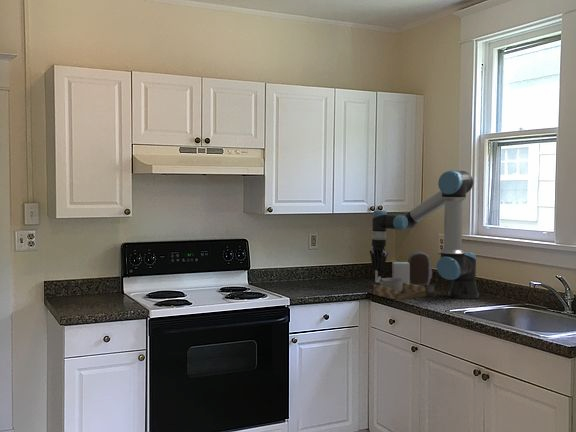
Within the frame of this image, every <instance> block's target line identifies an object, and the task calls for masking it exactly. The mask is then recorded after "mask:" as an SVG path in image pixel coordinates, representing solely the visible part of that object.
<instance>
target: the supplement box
mask: <svg viewBox="0 0 576 432" xmlns="http://www.w3.org/2000/svg"><path fill="white" fill-rule="evenodd" d="M391 262H392V264H391V268H392V269H391V271H392V273H391V276H392V277H391V278H401V279H403V283H408V284H410V264H409V263H408V261H391Z"/></svg>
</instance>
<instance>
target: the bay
mask: <svg viewBox="0 0 576 432" xmlns="http://www.w3.org/2000/svg"><path fill="white" fill-rule="evenodd" d="M438 280H439V279H438V278H435V279H434V281H435V283H434V284H429V285H425V286H418V285H413V284H408V283H403V287H402V291H401V292H400V293H398V289H393V288H388V287H383V286H381V285H380V284H373V295H375V296H379V297H383V298H387V299H393V300H396V301H400V300H401V301H402V300H409V299H418V298H427V297H429V298H434V297H435V287H438V286H439V283H438V282H439V281H438Z"/></svg>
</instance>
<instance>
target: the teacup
mask: <svg viewBox="0 0 576 432" xmlns="http://www.w3.org/2000/svg"><path fill="white" fill-rule="evenodd" d="M378 283H379V286H383V287H388V288H393V289H398V293H402V292H401V291H402V287H403V279H401V278H392V277H381V279H380V281H379V282H378Z"/></svg>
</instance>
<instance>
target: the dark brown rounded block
mask: <svg viewBox="0 0 576 432" xmlns="http://www.w3.org/2000/svg"><path fill="white" fill-rule="evenodd" d="M431 261H432V260H431V258H430V255H428V253H426V252H424V251H421V250H418V251H414V252H412V253H411V254H410V255H408V260H407V262H408V263H409V264H410V284H413V285H418V286H423V287H426V286H428V285H430V282H431V279H432V278H433V273H434V272H433V270H432V262H431Z"/></svg>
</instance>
